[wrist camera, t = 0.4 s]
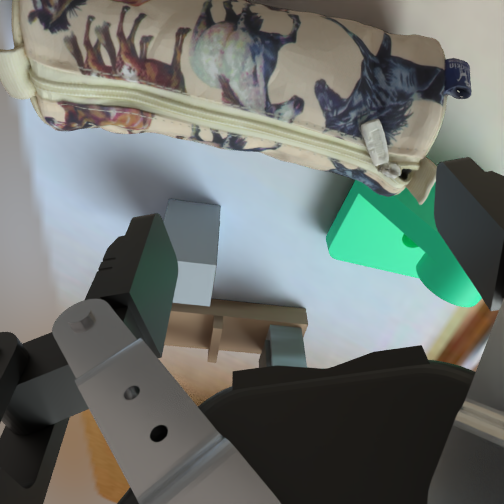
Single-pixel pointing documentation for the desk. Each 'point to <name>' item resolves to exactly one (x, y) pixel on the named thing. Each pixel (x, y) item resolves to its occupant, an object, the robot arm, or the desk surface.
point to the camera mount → (399, 241)
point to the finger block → (194, 248)
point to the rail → (241, 330)
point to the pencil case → (240, 82)
